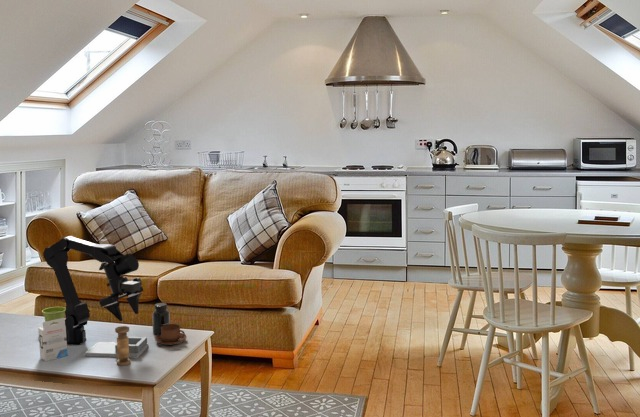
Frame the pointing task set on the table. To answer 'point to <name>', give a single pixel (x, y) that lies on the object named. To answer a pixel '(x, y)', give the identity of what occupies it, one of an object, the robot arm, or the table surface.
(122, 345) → the bobbin
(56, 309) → the plant pot
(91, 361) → the table surface
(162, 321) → the supplement bottle
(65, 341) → the ink box
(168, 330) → the cup and saucer
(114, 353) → the board
